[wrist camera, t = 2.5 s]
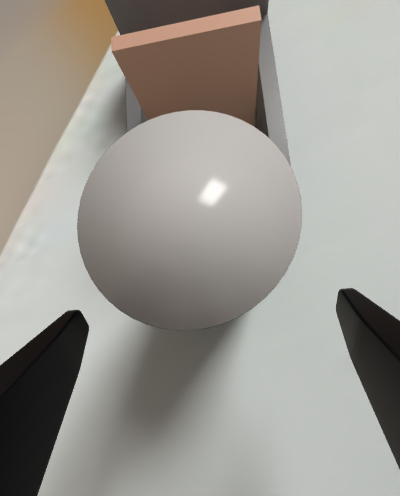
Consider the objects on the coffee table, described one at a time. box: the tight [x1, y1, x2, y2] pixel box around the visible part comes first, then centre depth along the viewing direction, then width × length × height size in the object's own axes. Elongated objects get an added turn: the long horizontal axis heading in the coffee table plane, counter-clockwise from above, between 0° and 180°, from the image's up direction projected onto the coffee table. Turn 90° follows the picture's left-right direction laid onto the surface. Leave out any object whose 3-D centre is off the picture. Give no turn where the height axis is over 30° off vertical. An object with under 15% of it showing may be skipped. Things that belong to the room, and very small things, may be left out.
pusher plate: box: [111, 5, 261, 126], centre depth 17 cm, size 1×7×9 cm, turn 94°
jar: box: [77, 110, 302, 330], centre depth 14 cm, size 6×6×12 cm
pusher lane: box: [105, 0, 291, 166], centre depth 19 cm, size 15×10×7 cm, turn 4°
